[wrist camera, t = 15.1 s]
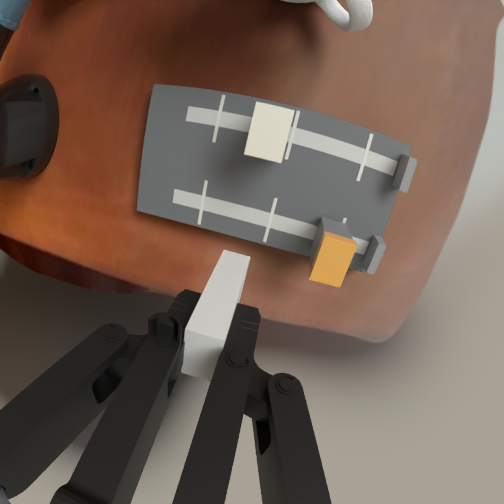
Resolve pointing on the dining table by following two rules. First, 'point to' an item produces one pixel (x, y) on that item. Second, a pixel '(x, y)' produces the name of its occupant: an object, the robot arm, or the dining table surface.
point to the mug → (345, 13)
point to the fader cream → (269, 132)
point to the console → (268, 173)
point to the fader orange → (331, 252)
